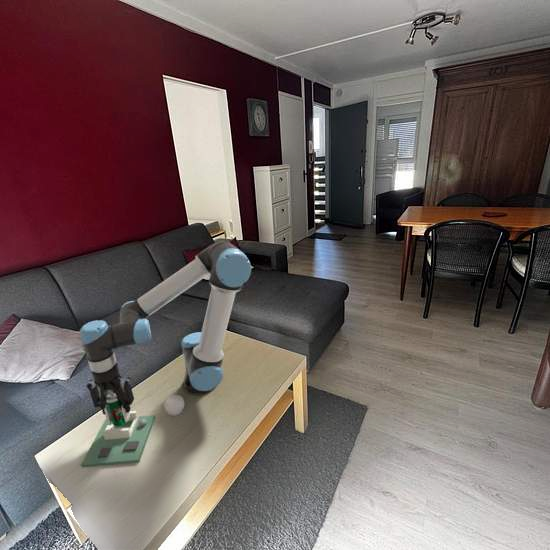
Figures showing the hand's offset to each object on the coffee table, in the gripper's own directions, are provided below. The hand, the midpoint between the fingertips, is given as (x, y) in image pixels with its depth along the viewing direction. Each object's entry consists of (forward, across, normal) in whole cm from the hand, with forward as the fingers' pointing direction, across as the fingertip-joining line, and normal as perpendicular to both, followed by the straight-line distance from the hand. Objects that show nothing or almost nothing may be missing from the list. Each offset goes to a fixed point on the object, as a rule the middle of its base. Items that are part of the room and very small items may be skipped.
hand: (119, 419), depth 107 cm
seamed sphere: (+6, -16, -7) cm, 19 cm away
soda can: (+1, 0, 0) cm, 1 cm away
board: (+6, -1, +4) cm, 7 cm away
